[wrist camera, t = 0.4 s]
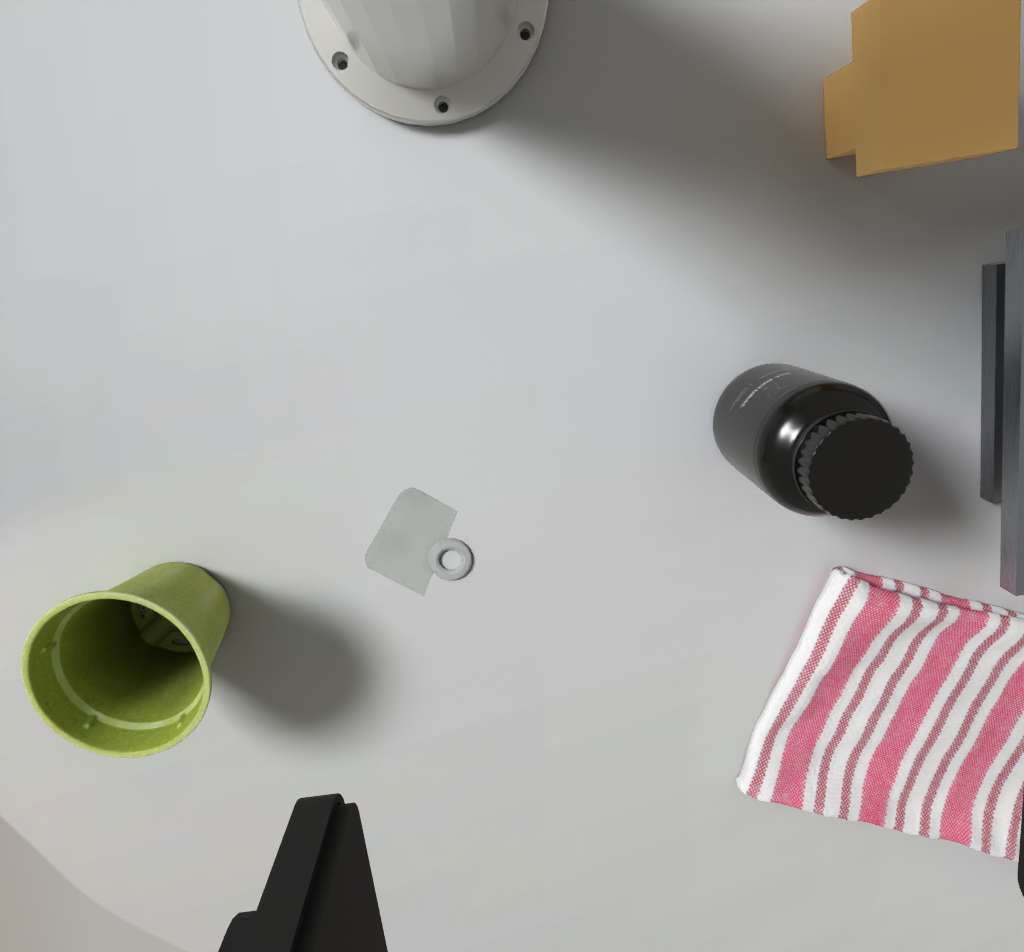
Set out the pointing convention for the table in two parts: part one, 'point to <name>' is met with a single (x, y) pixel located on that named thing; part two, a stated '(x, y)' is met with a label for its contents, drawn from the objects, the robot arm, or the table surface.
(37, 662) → the plant pot
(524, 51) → the robot arm
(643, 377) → the table surface
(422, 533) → the mounting bracket
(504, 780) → the table surface
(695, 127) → the table surface
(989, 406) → the gray tiered stand
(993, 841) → the dish towel
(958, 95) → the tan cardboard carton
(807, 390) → the supplement bottle
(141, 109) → the table surface
